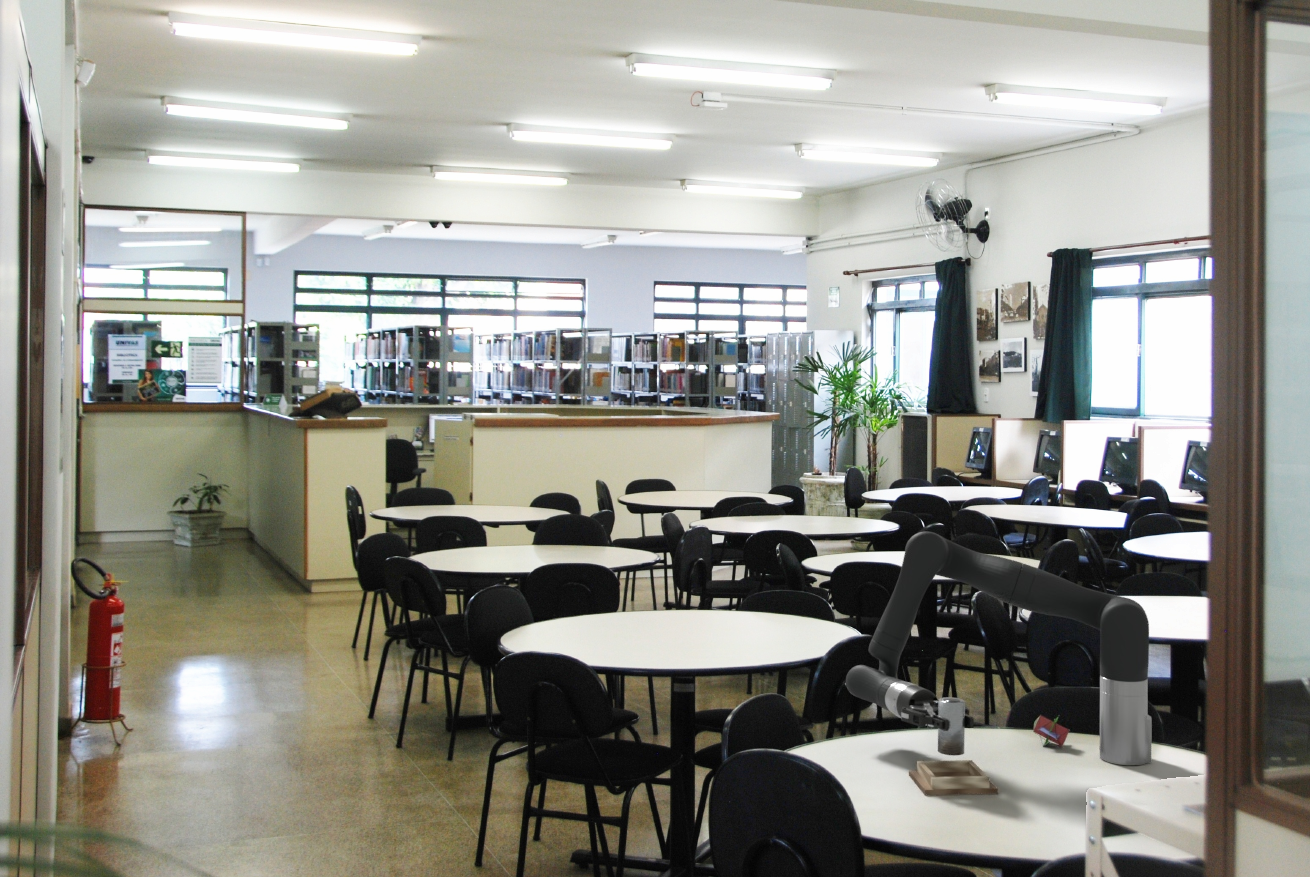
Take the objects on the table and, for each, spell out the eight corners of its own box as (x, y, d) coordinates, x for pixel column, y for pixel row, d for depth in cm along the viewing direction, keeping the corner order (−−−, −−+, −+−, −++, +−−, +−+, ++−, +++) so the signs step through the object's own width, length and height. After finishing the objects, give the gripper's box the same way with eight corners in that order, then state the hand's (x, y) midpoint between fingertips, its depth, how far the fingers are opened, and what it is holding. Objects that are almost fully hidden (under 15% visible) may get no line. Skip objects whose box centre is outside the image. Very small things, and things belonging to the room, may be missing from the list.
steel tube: (959, 747, 232) (960, 696, 231) (967, 755, 227) (968, 703, 226) (934, 747, 232) (935, 697, 231) (941, 755, 227) (942, 703, 226)
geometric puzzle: (1079, 735, 255) (1057, 703, 258) (1072, 742, 250) (1049, 710, 252) (1052, 750, 258) (1030, 719, 261) (1045, 758, 253) (1022, 726, 255)
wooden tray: (978, 774, 235) (978, 759, 235) (998, 793, 223) (998, 778, 223) (908, 775, 235) (908, 760, 235) (924, 795, 223) (924, 779, 223)
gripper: (881, 687, 240) (927, 708, 224) (941, 681, 245) (991, 701, 229) (880, 723, 240) (927, 747, 224) (940, 717, 245) (990, 740, 229)
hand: (959, 724), depth 227 cm, fingers closed on steel tube, 5 cm apart
